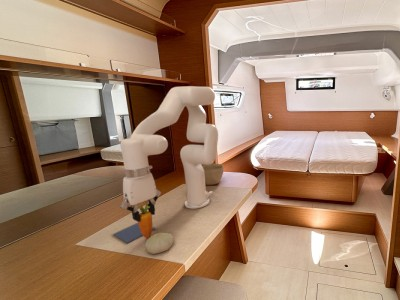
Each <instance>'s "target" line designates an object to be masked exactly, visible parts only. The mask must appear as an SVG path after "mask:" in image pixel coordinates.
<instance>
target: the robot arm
mask: <svg viewBox="0 0 400 300" xmlns="http://www.w3.org/2000/svg"><path fill="white" fill-rule="evenodd" d="M215 99H216V94H215V91H214V89H212V87H210V86H193V85H188V86H174V87H172V88H170V90H169V91H168V92H167V93H166V96H165V97H164V98H163V101H162V102H161V104H160V105H159V107H158V109H157V110H156V111H155V112H153V113H151V114H150V115H149V116H147V117H146V118H145V119H143V120H142V121H141V122H140V123H139V124H138V125H137V126H136V128H135V129H134V130H133V131H132V134H131V135H130V137H129V138H124V139H122V140H121V141H120V150H121V155H122V161H123V162H122V163H123V166H124V174H125V176H124V177H123V179H122V196H123V200H122V202H121V204H120V206H119V208H120V209H123V210H127V211H130V212H131V216H132V219H133V220H134V221H135V222H137V223H138V222H139V221H140V215H139V214H140V211H138V208H139V204H141V203H143V202H147V203H148V206H147V207H150V208H148V210H147V211H148V212H151V214H152V216H155V215H156V207H155V205H156V202H157V201H158V199H159V197H160V196H161V194H162V192H161V191H160V190H159V189H158V188H157V186H156V181H155V178H154V176H153V173H152V172H151V170H152V169H153V165H149V159H148V158H149V156H155V155H161V154H163V153H164V152H166V151H167V149H168V146H169V143H168V140H167V139H166V137H164V136H163V135H160V134H155V133H156V132H158V131H159V130H161V129H163V128H166V127H169V126H171V125H174V124H175V123H177V122H178V120H179V118H180V116H181V114H182V112H183V111H184V109H185V107H186V109H187V111H188V121H187V127H186V139H187V140H188V141H189V142H191V143H201V144H186V145H184V146H182V148H181V149H180V152H179V156H180V160H181V163H182V166H183V171H184V182H185V190H186V201H185V202H184V207H185V208H186V209H190V210H191V209H193V210H195V209H201V208H204V207H206V206H207V205H209V204H210V203H211V201H210V198H209V196H212V195H214V191H213V190H211V191H208V190H206V189H207V188H206V184H205V176H204V169H203V167H202V166H203V165H210V164H214V162H215V160H216V158H217V152H218V151H217V150H218V144H219V143H218V142H219V130H218V128H217V126H215V124H212V123H207V113H206V111H205V109H204V108H203V106H210V105H212V104H213V103H214V102H215ZM128 204H129V205H128Z"/></svg>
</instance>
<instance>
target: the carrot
mask: <svg viewBox="0 0 400 300" xmlns="http://www.w3.org/2000/svg"><path fill="white" fill-rule="evenodd" d="M148 204H149V202H146V203H145V206H144V207H143V206H142V205H138V208H139V210H140V212H139V215H140V221H139V222H137V223H139V228H140V230H141V233H142V235H143V238H145V239H146V240H148V239H149V238H150V237H151V236H152V234H153V231H152V227H153V215H152V214H151V212H149V211H148V208H150V207H148Z"/></svg>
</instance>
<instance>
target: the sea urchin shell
mask: <svg viewBox="0 0 400 300" xmlns="http://www.w3.org/2000/svg"><path fill="white" fill-rule="evenodd" d="M173 243H174V237H173V234H171V233H170V232H169V233H168V232H157V233H154V234H153V235H151V237H150V238H149V239H146V241H145V244H144V245H145V250H146V251H147V252H148V253H150V254H152V255H153V254H154V255H156V254H161V253H163V252H166V251H168V250H169V249H170V248H171V247H172V246H173Z"/></svg>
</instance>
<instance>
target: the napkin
mask: <svg viewBox="0 0 400 300" xmlns="http://www.w3.org/2000/svg"><path fill="white" fill-rule="evenodd" d="M154 230H156V228H155V227H153V226H152V232H153V231H154ZM113 236H115V237H116V238H118V239H120V240H121V241H123V242H124V243H125V244H129V243H131V242H133V241H135V240H137V239H139V238H141V237H142V236H143V235H142V233H141V230H140V228H139V223H138V222H137V223H134V224H132V225H130V226H128V227H126V228H123V229H121V230H120V231H117V232H115V233H113ZM143 237H144V236H143Z"/></svg>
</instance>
